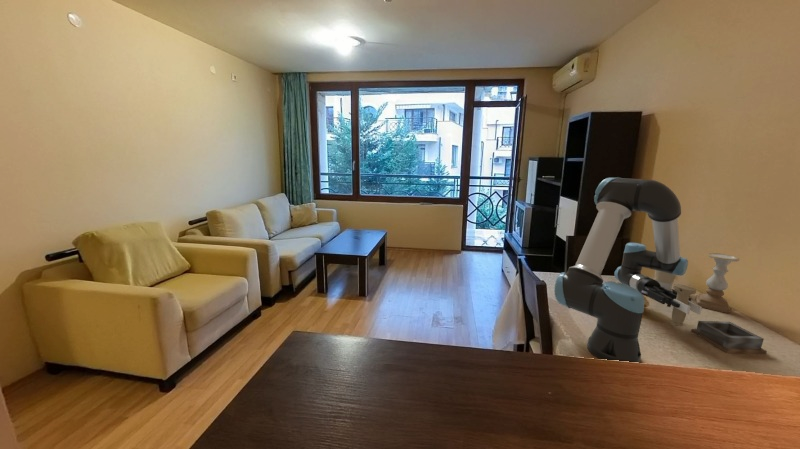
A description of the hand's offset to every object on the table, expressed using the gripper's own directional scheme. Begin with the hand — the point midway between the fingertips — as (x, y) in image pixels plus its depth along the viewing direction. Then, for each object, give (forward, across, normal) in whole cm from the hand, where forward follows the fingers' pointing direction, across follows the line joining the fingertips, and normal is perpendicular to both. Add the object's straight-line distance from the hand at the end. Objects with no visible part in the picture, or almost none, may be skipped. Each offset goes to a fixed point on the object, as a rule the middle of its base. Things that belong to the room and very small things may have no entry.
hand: (694, 310), depth 117 cm
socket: (-1, -16, -12) cm, 20 cm away
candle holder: (-32, -40, -12) cm, 53 cm away
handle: (-5, 0, -9) cm, 10 cm away
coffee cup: (-52, -33, -12) cm, 63 cm away
